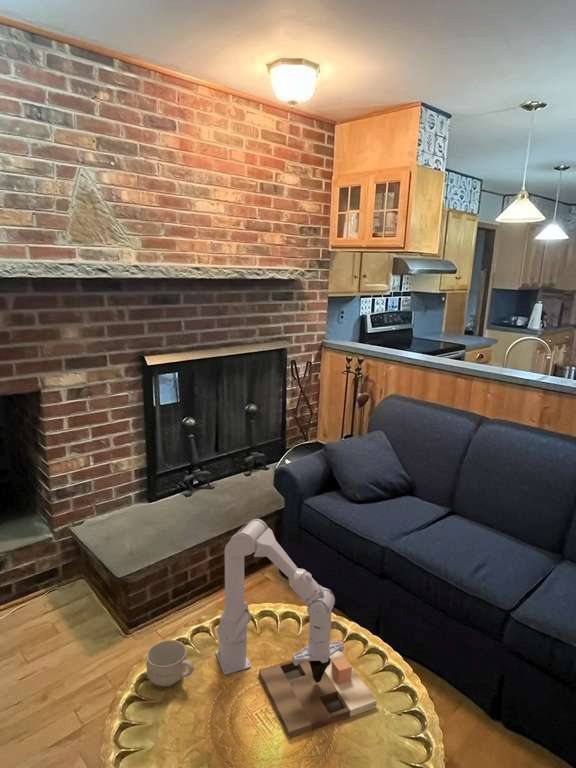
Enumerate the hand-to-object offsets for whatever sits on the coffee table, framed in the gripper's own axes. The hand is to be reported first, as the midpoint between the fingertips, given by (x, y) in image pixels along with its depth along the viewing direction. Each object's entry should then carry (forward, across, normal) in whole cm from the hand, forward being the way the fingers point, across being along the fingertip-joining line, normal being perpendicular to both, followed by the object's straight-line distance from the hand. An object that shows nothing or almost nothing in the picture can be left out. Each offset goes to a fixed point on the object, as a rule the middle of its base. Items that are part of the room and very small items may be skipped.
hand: (316, 679), depth 132 cm
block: (+2, +8, 0) cm, 8 cm away
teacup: (+4, -36, +18) cm, 40 cm away
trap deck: (+3, 0, 0) cm, 4 cm away
